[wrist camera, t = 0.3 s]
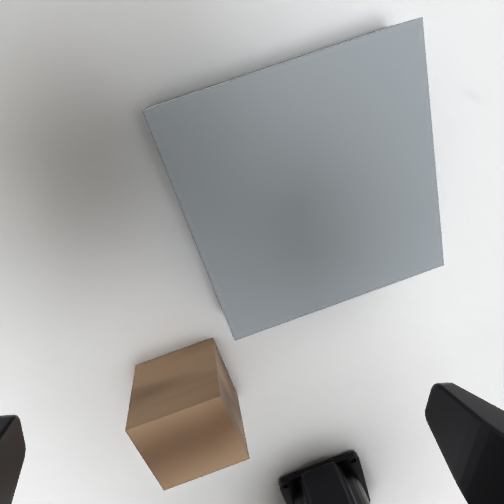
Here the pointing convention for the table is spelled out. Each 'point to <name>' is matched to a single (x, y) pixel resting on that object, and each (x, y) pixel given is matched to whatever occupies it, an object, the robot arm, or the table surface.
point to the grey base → (308, 177)
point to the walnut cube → (186, 415)
